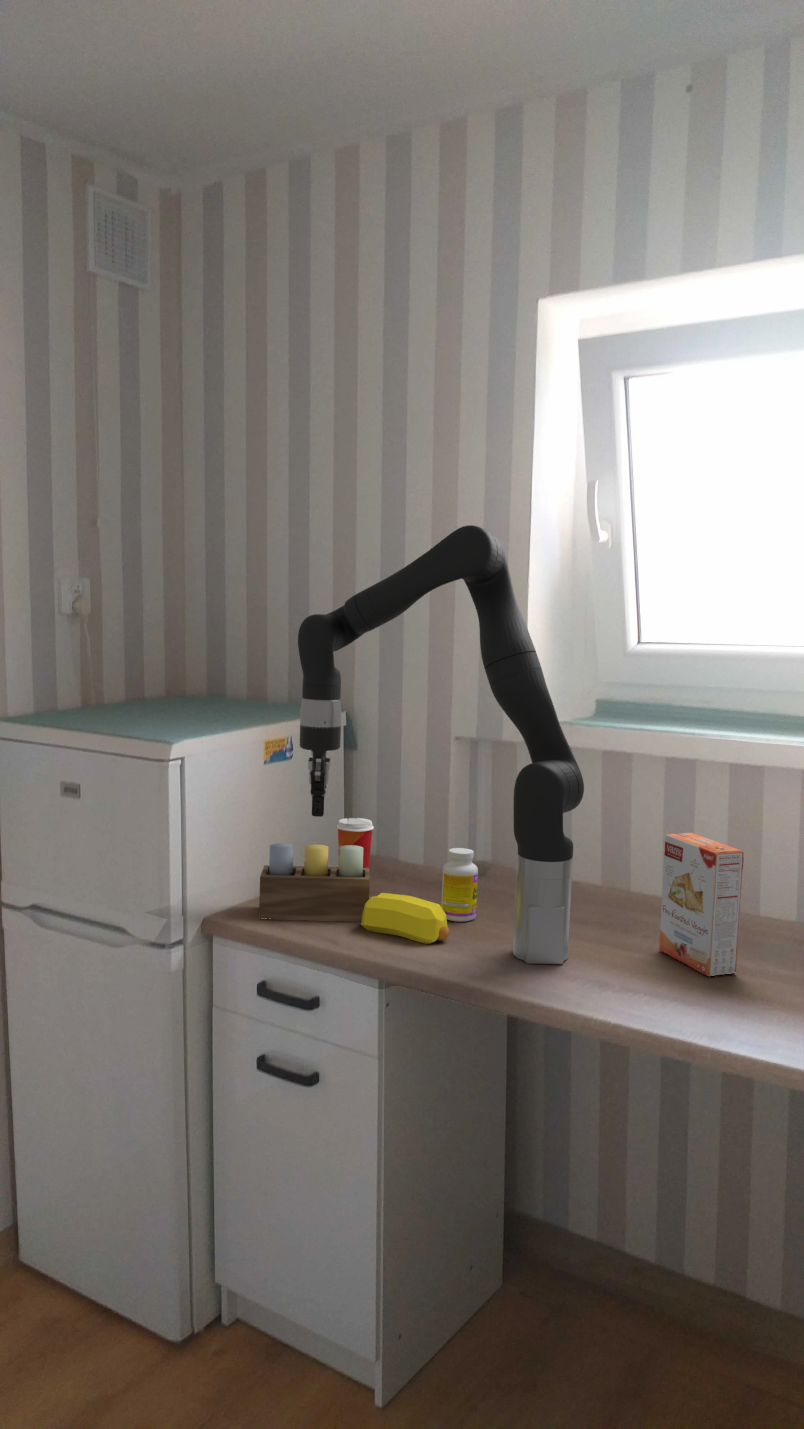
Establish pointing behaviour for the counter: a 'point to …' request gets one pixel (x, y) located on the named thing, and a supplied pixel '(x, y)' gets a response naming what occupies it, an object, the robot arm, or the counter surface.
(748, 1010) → the counter surface
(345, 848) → the button sage
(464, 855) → the supplement bottle
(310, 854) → the button mustard
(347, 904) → the wooden compartment holder
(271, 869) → the blue-grey cylinder
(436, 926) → the yellow toy banana
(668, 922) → the cracker box
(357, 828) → the paper cup
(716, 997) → the counter surface
